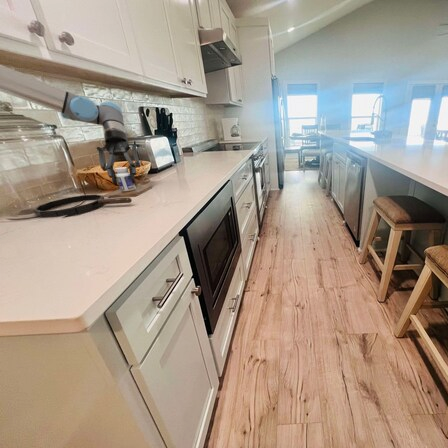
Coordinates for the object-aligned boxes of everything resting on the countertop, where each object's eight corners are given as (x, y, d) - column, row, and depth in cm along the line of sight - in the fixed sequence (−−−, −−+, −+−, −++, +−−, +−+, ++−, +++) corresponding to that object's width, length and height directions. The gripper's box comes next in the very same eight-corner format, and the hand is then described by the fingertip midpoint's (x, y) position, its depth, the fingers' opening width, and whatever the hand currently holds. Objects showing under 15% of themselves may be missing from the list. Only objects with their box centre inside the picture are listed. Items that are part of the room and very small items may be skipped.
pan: (22, 220, 73) (17, 211, 72) (68, 202, 88) (65, 195, 87) (117, 214, 74) (113, 206, 72) (146, 198, 89) (144, 190, 88)
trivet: (104, 198, 92) (103, 195, 91) (123, 189, 103) (122, 187, 102) (136, 196, 92) (135, 193, 92) (152, 188, 103) (151, 185, 103)
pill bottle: (137, 187, 100) (130, 166, 97) (135, 190, 96) (127, 168, 92) (122, 189, 98) (114, 167, 95) (119, 192, 94) (111, 169, 90)
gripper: (143, 140, 106) (153, 184, 100) (92, 144, 99) (99, 191, 92) (138, 127, 100) (148, 173, 93) (83, 130, 92) (90, 180, 86)
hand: (124, 182), depth 93 cm, fingers closed on pill bottle, 5 cm apart
